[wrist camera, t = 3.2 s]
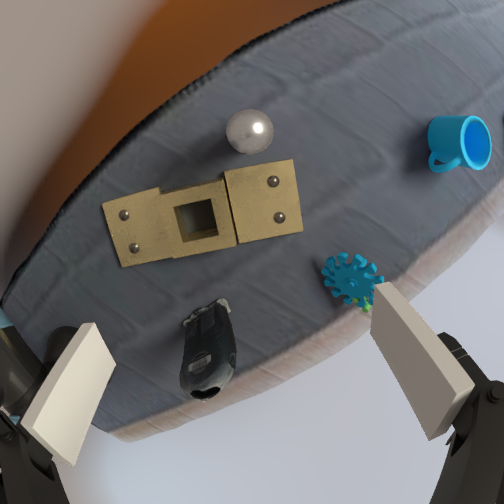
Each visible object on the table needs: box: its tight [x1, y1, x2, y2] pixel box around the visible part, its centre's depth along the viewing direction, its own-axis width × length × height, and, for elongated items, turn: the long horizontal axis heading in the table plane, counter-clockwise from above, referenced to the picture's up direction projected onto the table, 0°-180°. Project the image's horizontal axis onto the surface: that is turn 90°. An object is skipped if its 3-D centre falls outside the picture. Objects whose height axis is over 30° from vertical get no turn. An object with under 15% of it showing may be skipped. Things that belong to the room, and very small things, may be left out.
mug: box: [428, 116, 492, 173], centre depth 32 cm, size 12×8×8 cm
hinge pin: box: [226, 109, 274, 154], centre depth 29 cm, size 4×4×12 cm
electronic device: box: [180, 298, 237, 403], centre depth 37 cm, size 9×6×15 cm, turn 117°
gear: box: [321, 252, 384, 312], centre depth 40 cm, size 11×6×10 cm
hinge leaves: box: [102, 159, 303, 267], centre depth 36 cm, size 27×10×4 cm, turn 101°
